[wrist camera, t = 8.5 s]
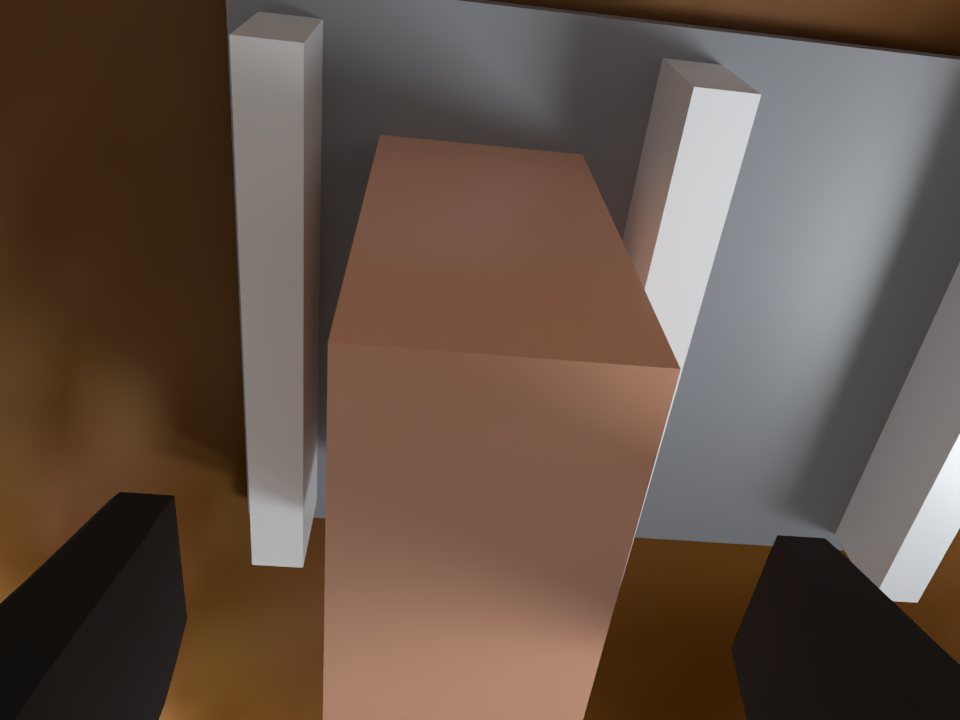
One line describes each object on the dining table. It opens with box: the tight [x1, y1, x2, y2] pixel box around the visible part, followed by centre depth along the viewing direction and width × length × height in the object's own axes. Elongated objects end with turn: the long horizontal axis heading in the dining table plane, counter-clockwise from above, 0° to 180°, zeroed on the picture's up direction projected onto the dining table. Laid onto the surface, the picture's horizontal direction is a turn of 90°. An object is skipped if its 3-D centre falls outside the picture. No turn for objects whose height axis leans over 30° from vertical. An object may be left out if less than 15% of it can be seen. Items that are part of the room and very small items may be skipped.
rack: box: [226, 0, 960, 603], centre depth 15 cm, size 15×11×2 cm
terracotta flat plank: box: [323, 135, 681, 720], centre depth 13 cm, size 4×7×7 cm, turn 174°
